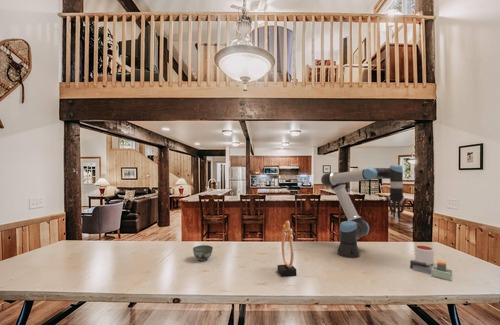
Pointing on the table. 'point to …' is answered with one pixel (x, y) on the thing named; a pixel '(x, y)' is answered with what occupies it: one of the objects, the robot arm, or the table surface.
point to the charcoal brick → (417, 264)
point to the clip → (423, 268)
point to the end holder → (442, 273)
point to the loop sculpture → (287, 268)
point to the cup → (424, 254)
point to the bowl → (202, 252)
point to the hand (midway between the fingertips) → (396, 222)
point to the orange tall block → (441, 266)
